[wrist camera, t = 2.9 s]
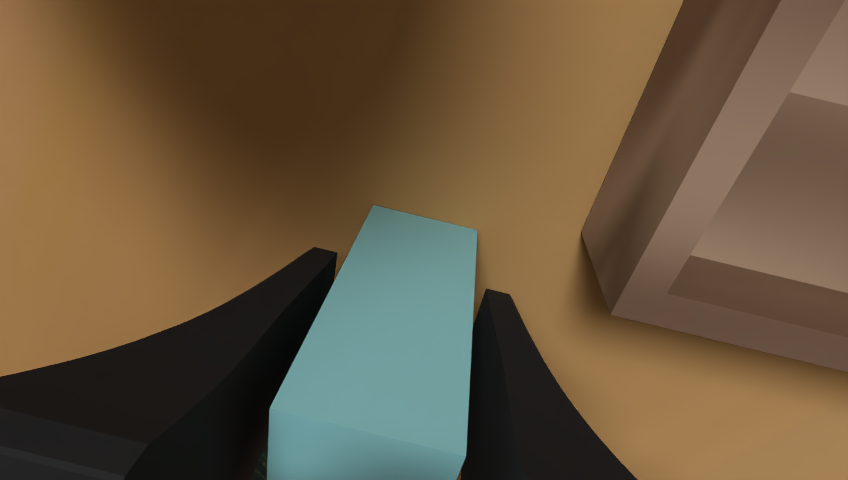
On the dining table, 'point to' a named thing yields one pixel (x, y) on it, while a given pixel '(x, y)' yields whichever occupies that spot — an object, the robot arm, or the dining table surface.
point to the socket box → (736, 183)
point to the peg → (384, 361)
